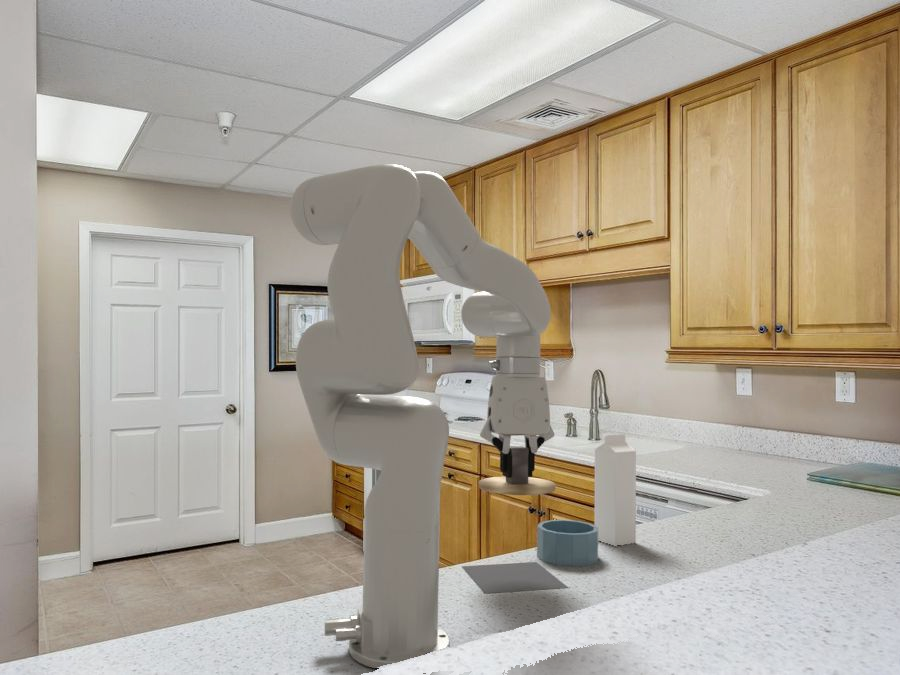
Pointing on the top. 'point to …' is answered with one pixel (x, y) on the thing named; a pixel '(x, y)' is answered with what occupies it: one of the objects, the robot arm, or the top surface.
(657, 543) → the top surface
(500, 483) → the lid
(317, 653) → the top surface
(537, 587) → the mat
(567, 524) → the bowl
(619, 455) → the milk
